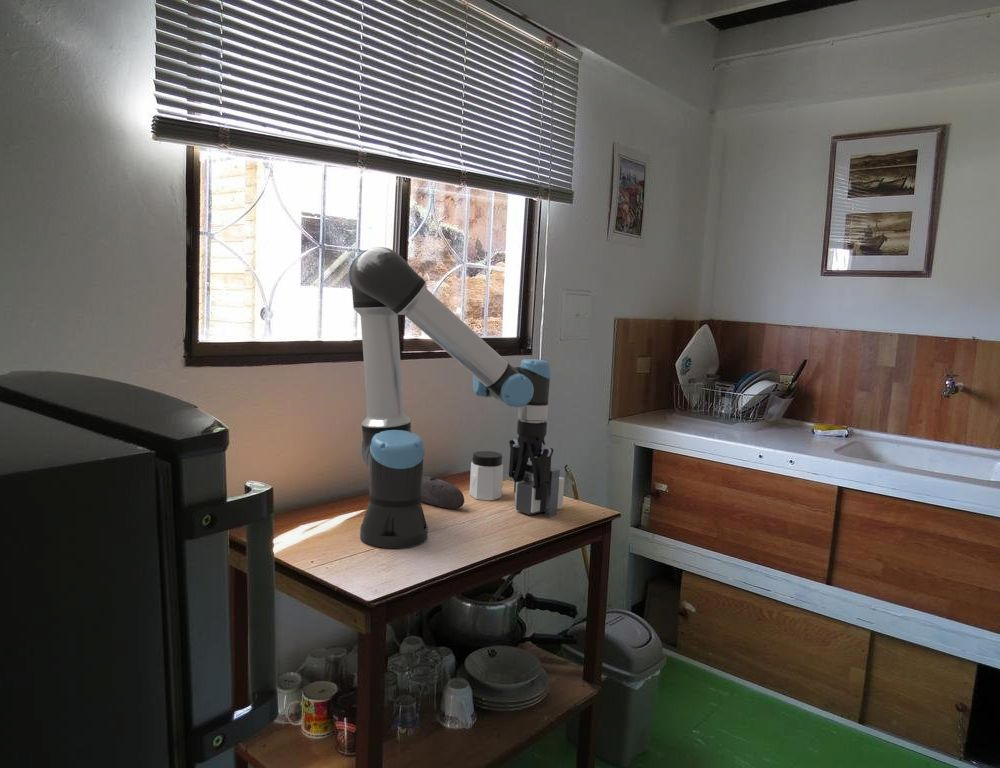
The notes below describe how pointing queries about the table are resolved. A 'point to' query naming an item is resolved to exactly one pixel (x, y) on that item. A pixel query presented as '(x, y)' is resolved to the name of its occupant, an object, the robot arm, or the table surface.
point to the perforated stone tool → (441, 493)
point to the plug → (525, 497)
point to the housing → (550, 491)
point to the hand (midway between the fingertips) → (527, 508)
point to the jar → (486, 475)
